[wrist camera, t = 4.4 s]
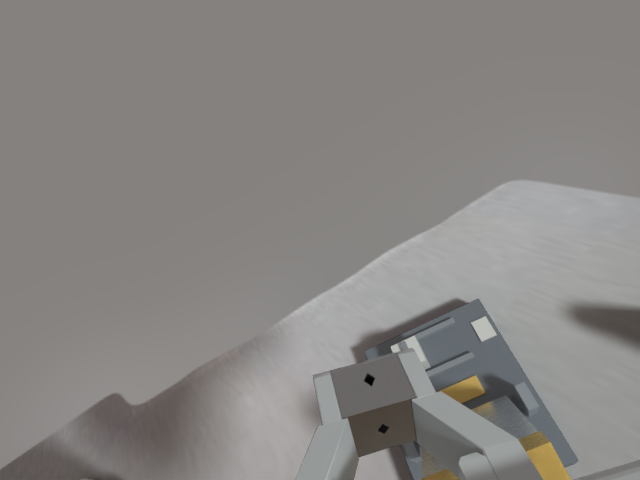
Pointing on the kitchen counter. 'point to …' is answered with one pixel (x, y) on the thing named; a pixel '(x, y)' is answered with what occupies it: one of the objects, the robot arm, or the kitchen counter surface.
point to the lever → (516, 424)
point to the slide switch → (414, 344)
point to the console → (475, 372)
